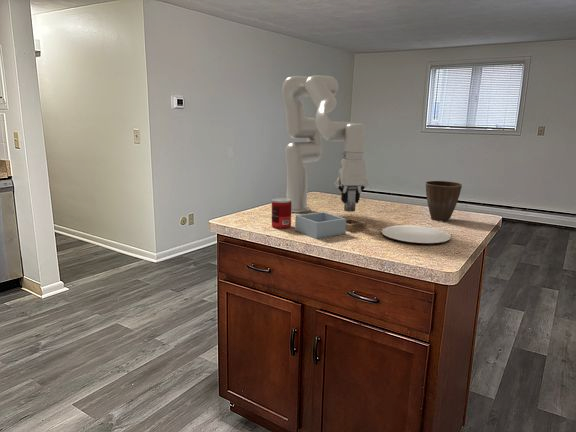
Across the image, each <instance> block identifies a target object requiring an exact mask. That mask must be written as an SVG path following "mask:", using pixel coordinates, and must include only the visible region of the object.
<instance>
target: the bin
mask: <svg viewBox="0 0 576 432" xmlns="http://www.w3.org/2000/svg"><path fill="white" fill-rule="evenodd" d="M346 219H347V218H344V217H341V216H338V215H334V214H332V213H328V212H326V211H323V212H322V211H320V212H311V213H307V214H297V215H295V225H294V226H295V229H294V231H295V232H297V233H300V234H303V235H305V236H308V237H310V238H313V239H315V240H319V239H325V238H331V237H337V236H344V235H346V232H347V231H346Z"/></svg>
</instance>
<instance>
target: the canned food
mask: <svg viewBox="0 0 576 432" xmlns="http://www.w3.org/2000/svg"><path fill="white" fill-rule="evenodd" d="M291 202H292V201H291V199H289V198H287V197H275V198H272V199H271V227H272V228H273V229H277V230H278V229H279V230H286V229H290V228H291V225H292V212H291Z"/></svg>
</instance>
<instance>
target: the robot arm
mask: <svg viewBox="0 0 576 432" xmlns="http://www.w3.org/2000/svg"><path fill="white" fill-rule="evenodd" d="M338 91H339V82H338V80H337V79H336V78H335V77H334V76H330V75H319V74H317V75H311V76H304V75H303V76H302V75H292V76H291V75H290V76H289V77H286V79H285V80H284V82H283V84H282V88H281V94H282V100H283V103H284V107H285V120H286V121H285V122H286V131H287V135H288V137H289V138H291V139H295V140H296V139H297V140H299V139H303V140H305V139H306V141H293V142H290V143H288V144H287V145H286V147H285V150H284V155H285V161H286V198H289V199H291V201H292V202H291V213H296V214H297V213H300V214H301V213H307V212H310V210H311V207H310V206H308V180H309V179H308V176H309V175H308V169H307V167H306V165H305V163H316V162H318V161H320V160H321V158H322V155H323V144H322V138H323V139H324V140H325V141H327V142H344V145H343V147H344V148H343V152H340V154H339V156H340V157H341V158H342V159H341V161H340V165H339V169H338V177H337V178H336V180H335V181H334V182H333V186H335V188H337V189H339V191H340V192H341V197H340V200H341V203H343V204H344V203H346V200H347V193H346V189H347V186H358V189H357V192H356V204H358V203H359V201H360V199H361V198H360V197H361V193H362V191H363V190H364V189H365V188H367V187H368V186H369V185H370V183H369V182H368V180H367V167H366V166H367V165H366V164H367V163H366V160H365V159H364V152H365V151H364V150H365V138H366V125H364V123H354V122H350V121H331V119H330V118H329V116H328V114H329V113H331V112H333V110H334V109H336V107H337V104H338V102H337V99H336V97H335V96H336V95H337V93H338ZM299 97H305V98H306V97H307V98H309V97H310V99H311V101H312V102H313V105H314V106H315V108H316V113H315V117H306V115H305V113H306V112H305V106H304V103H303V102H302V100H301V99H300V98H299Z"/></svg>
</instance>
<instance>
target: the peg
mask: <svg viewBox="0 0 576 432" xmlns="http://www.w3.org/2000/svg"><path fill="white" fill-rule="evenodd" d="M357 189H358V186H347V189H346V193H347V200H346V203H343V204H344V205H343V206H344V207H343V211H345V212H349V213H350V212H356V206H357V203H356V192H357Z"/></svg>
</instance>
